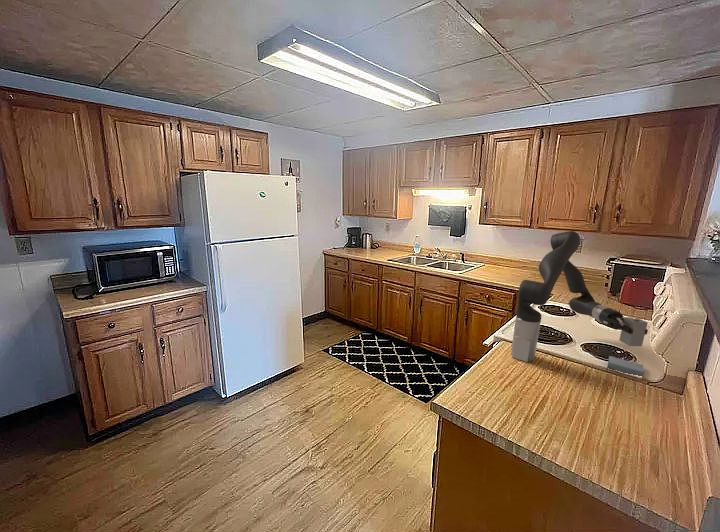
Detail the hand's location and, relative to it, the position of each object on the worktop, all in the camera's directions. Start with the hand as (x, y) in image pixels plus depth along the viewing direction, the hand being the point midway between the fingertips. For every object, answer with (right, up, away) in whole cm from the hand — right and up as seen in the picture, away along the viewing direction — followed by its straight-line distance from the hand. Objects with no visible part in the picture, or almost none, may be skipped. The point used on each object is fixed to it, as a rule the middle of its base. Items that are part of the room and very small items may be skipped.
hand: (639, 331), depth 126 cm
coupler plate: (-1, -16, +6) cm, 17 cm away
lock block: (0, -5, +4) cm, 7 cm away
